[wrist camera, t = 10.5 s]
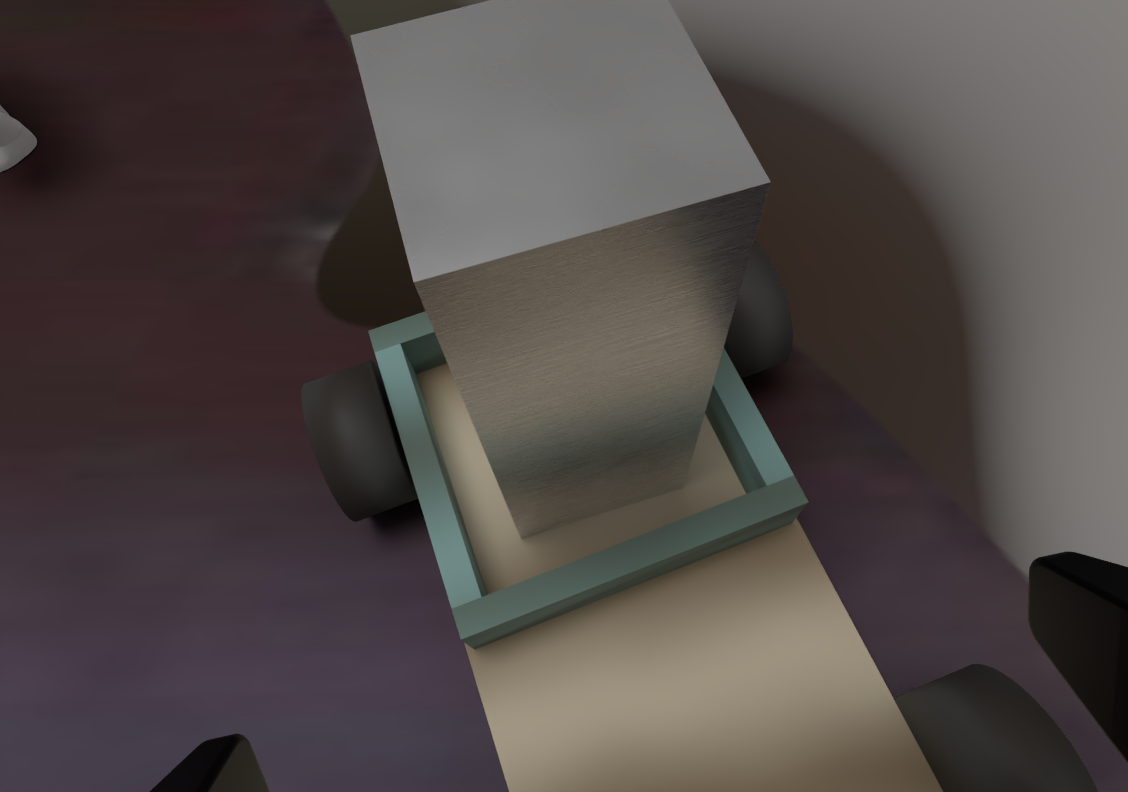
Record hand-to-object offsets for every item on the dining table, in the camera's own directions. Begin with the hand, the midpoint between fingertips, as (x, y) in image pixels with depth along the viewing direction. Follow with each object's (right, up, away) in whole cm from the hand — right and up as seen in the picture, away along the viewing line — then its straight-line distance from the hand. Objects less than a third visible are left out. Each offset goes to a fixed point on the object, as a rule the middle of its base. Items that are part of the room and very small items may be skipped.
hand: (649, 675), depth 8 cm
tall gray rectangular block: (-1, +2, +14) cm, 14 cm away
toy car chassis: (+1, -3, +14) cm, 14 cm away
